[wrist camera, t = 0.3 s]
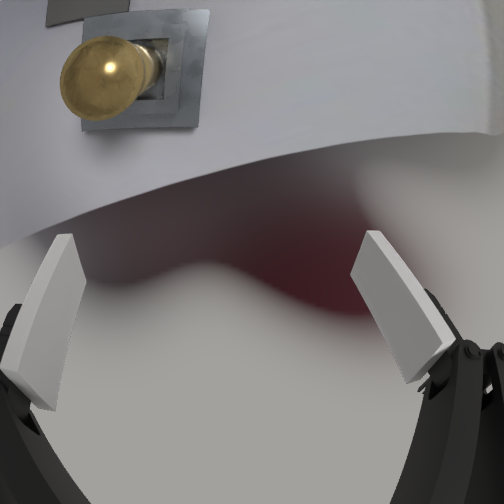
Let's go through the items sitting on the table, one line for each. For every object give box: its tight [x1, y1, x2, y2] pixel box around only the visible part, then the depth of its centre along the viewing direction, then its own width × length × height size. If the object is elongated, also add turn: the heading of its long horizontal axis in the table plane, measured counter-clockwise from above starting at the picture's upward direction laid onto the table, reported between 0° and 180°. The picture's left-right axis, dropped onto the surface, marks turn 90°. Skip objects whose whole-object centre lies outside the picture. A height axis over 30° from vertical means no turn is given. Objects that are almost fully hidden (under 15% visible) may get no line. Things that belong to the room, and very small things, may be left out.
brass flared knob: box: [60, 36, 163, 121], centre depth 20 cm, size 6×6×14 cm
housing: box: [81, 9, 210, 132], centre depth 26 cm, size 14×14×6 cm
